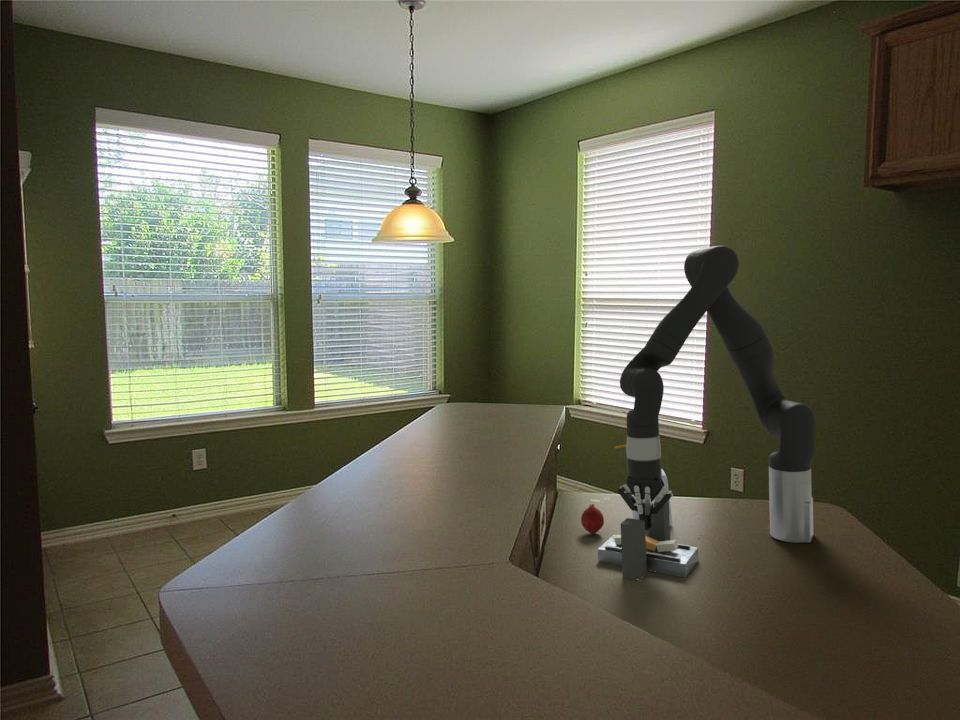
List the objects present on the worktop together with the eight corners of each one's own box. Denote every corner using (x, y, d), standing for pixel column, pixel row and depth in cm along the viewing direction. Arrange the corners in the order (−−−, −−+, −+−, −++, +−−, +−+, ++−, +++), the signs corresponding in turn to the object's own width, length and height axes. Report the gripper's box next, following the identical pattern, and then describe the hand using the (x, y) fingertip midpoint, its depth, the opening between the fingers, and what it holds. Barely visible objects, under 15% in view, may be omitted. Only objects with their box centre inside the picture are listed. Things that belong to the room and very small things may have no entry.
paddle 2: (678, 546, 144) (676, 539, 144) (675, 550, 142) (673, 543, 142) (661, 548, 146) (659, 541, 146) (658, 552, 144) (656, 545, 144)
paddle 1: (635, 539, 149) (633, 533, 149) (631, 543, 147) (629, 536, 147) (619, 541, 152) (617, 534, 152) (615, 544, 150) (613, 538, 150)
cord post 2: (670, 546, 155) (668, 497, 153) (665, 552, 151) (663, 502, 150) (654, 543, 157) (652, 496, 156) (648, 549, 153) (646, 500, 152)
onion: (604, 538, 162) (602, 507, 161) (581, 538, 163) (579, 507, 163) (604, 530, 168) (603, 500, 167) (582, 529, 169) (580, 500, 168)
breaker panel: (698, 560, 146) (697, 545, 145) (685, 577, 137) (685, 561, 137) (614, 546, 157) (613, 532, 156) (598, 561, 148) (597, 546, 148)
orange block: (657, 547, 147) (659, 541, 146) (654, 551, 145) (656, 545, 144) (641, 540, 149) (642, 534, 148) (637, 544, 147) (639, 538, 146)
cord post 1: (646, 573, 140) (644, 520, 139) (640, 580, 137) (638, 526, 136) (629, 570, 143) (627, 518, 142) (622, 577, 139) (620, 523, 138)
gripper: (678, 453, 144) (680, 528, 146) (621, 448, 151) (624, 520, 153) (667, 461, 138) (670, 539, 139) (609, 456, 145) (612, 530, 147)
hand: (646, 529), depth 146 cm, fingers closed
